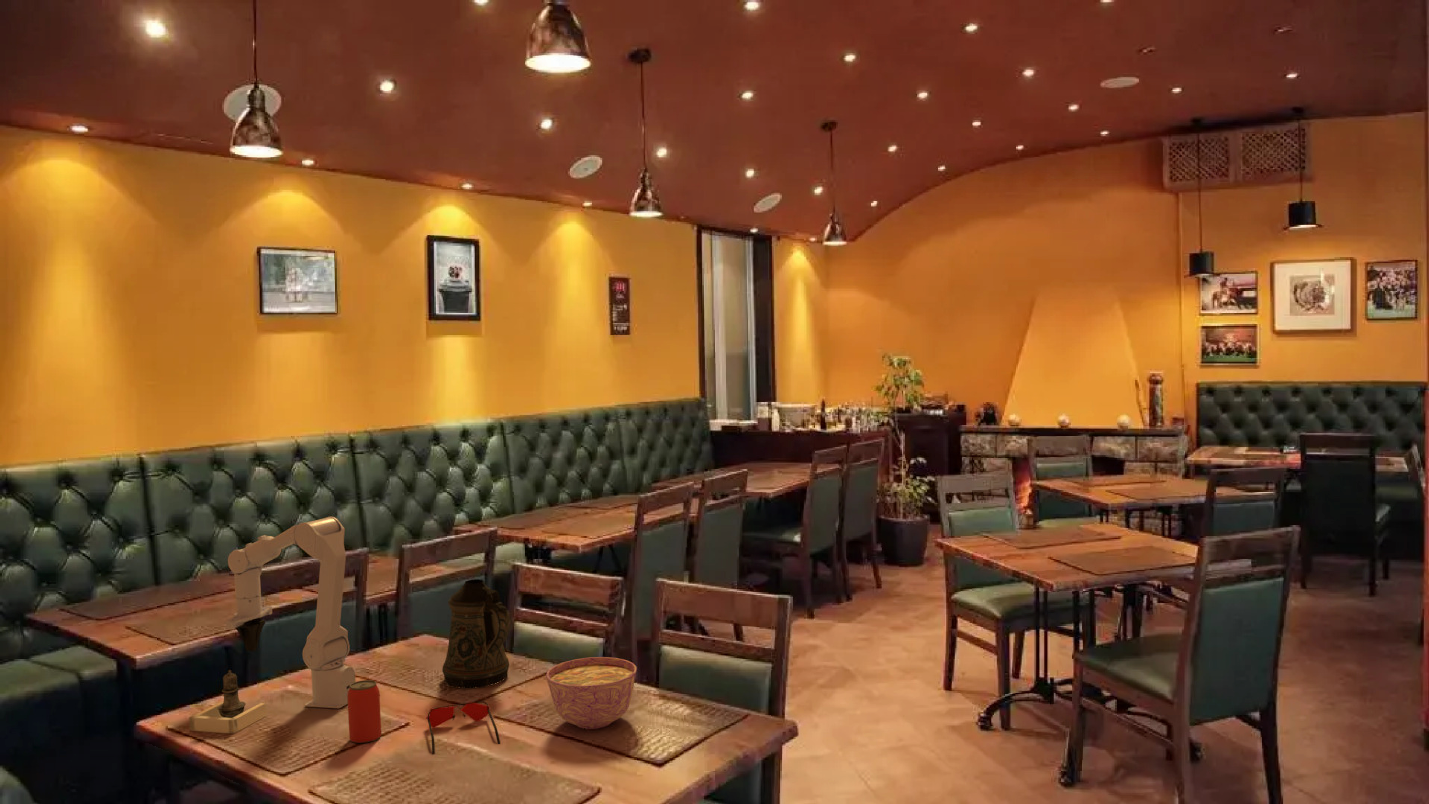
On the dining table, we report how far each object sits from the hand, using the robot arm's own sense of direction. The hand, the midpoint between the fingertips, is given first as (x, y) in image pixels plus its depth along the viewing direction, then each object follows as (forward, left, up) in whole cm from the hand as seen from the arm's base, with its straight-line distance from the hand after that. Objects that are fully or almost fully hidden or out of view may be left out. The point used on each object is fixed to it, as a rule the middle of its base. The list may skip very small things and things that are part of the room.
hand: (251, 650), depth 253 cm
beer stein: (-53, -18, -11) cm, 57 cm away
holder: (-9, +20, -10) cm, 24 cm away
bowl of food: (-92, +6, -11) cm, 93 cm away
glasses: (-66, +18, -11) cm, 69 cm away
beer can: (-46, +23, -11) cm, 53 cm away
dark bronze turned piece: (-9, +19, -11) cm, 23 cm away
